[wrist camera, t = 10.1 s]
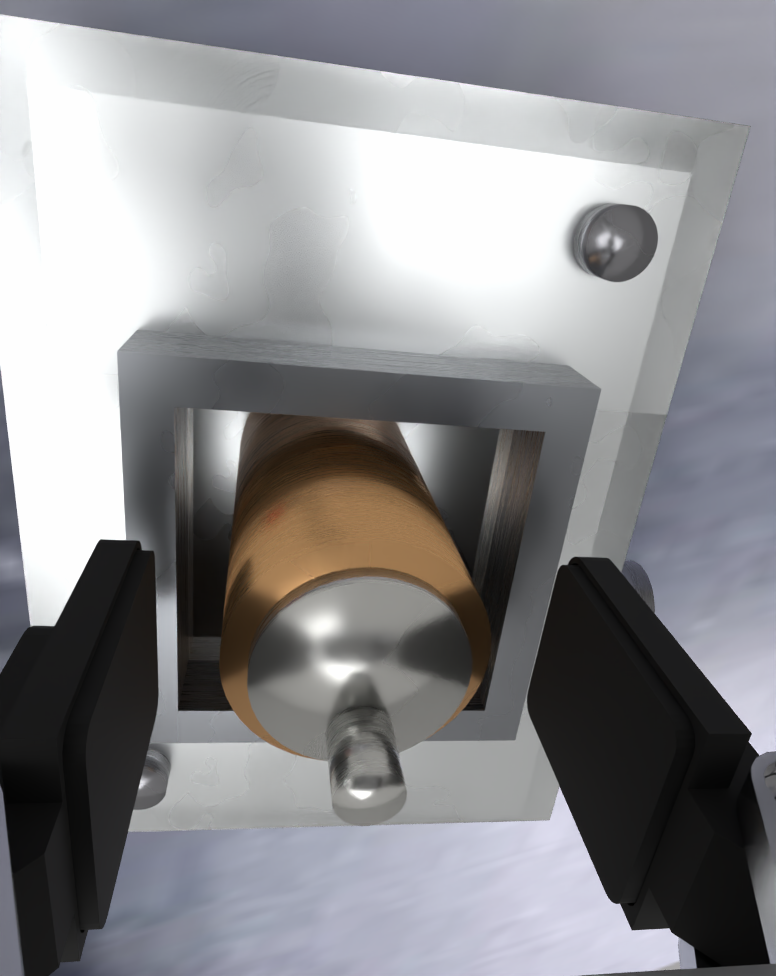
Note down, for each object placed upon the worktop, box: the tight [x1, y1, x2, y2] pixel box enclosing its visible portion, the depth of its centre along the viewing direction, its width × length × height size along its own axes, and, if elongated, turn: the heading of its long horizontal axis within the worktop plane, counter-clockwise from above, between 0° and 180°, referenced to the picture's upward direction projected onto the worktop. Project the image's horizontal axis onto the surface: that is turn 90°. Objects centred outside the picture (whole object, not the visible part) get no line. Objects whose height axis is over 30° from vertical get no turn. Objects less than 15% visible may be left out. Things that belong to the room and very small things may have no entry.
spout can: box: [219, 412, 491, 826], centre depth 13 cm, size 4×4×10 cm
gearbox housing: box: [0, 15, 751, 832], centre depth 15 cm, size 16×14×6 cm
